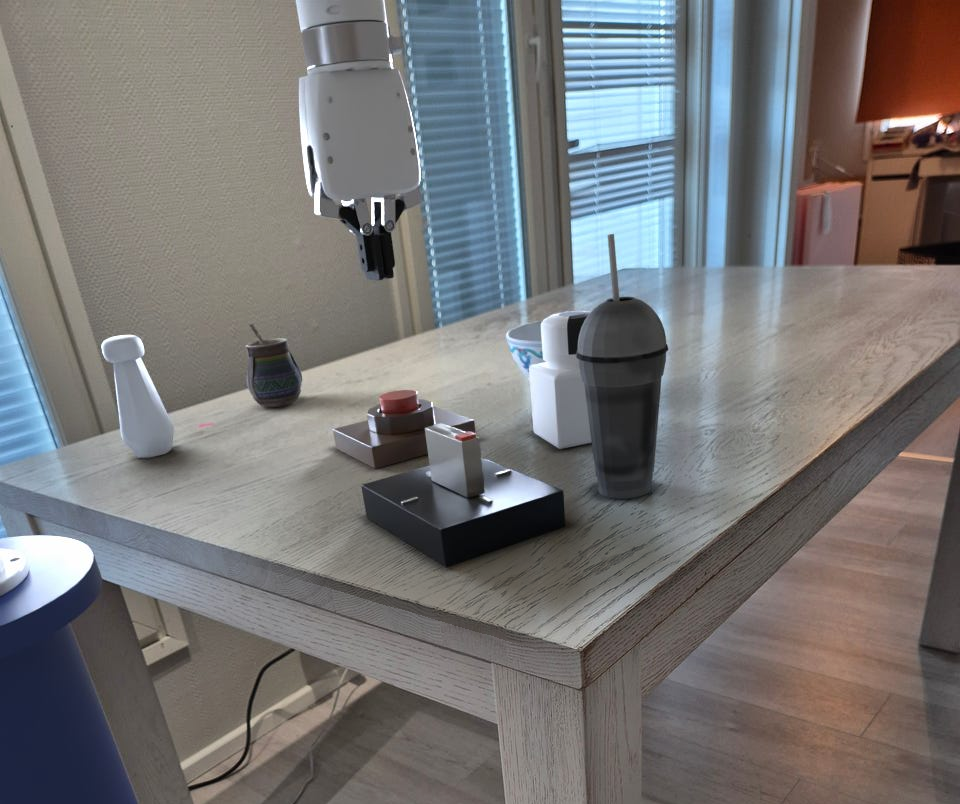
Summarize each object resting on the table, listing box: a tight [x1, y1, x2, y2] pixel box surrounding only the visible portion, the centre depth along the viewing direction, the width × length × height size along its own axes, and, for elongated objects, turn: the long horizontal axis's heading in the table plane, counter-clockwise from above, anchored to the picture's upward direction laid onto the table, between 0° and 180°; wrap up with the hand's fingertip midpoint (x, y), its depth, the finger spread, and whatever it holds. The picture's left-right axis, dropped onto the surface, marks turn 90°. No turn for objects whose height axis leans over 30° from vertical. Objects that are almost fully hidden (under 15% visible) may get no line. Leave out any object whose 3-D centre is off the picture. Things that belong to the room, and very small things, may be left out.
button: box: [378, 389, 419, 414], centre depth 91 cm, size 4×4×2 cm
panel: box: [360, 457, 566, 568], centre depth 71 cm, size 11×14×3 cm
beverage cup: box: [576, 233, 669, 500], centre depth 69 cm, size 7×7×20 cm
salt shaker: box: [101, 334, 175, 458], centre depth 97 cm, size 6×6×13 cm
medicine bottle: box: [529, 310, 592, 450], centre depth 86 cm, size 7×7×12 cm
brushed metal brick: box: [425, 423, 485, 498], centre depth 69 cm, size 6×2×5 cm, turn 32°
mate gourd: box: [244, 323, 303, 409], centre depth 114 cm, size 7×8×10 cm
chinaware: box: [505, 319, 546, 381], centre depth 102 cm, size 15×15×8 cm
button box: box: [332, 398, 477, 469], centre depth 92 cm, size 12×10×4 cm
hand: (379, 278), depth 84 cm, fingers closed
